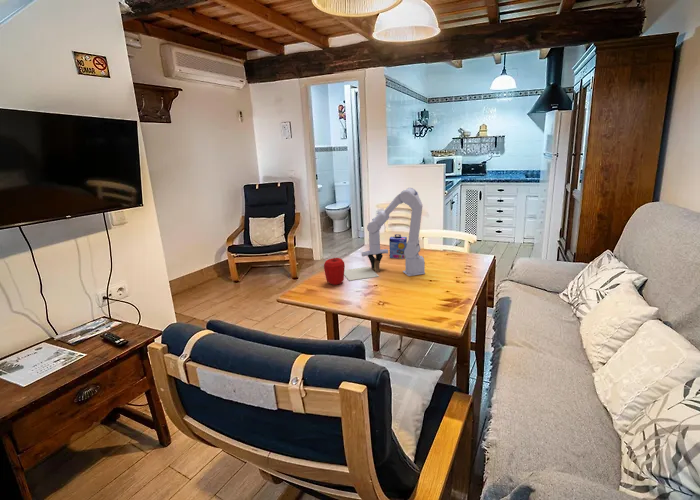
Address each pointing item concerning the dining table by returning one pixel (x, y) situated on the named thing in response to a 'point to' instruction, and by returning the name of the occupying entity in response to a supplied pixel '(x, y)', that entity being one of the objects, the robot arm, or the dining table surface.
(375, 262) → the tile
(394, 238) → the ink cartridge box
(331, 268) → the apple
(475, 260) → the dining table surface
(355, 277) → the mat
